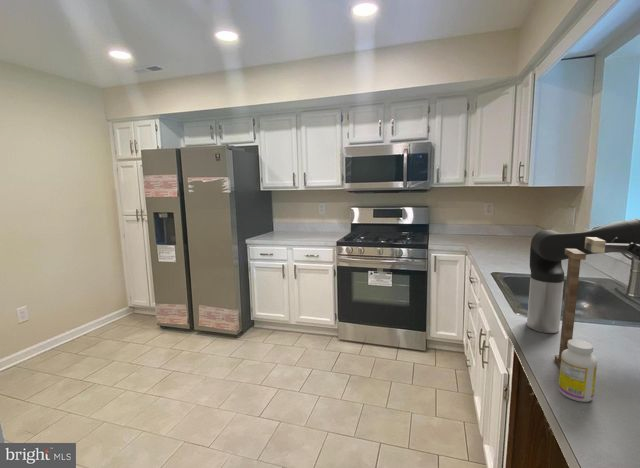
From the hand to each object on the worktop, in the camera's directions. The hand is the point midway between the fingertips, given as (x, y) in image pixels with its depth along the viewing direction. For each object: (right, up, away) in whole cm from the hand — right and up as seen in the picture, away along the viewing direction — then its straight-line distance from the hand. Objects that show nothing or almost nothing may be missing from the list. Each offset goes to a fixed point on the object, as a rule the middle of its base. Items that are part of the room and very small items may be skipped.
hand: (620, 243), depth 83 cm
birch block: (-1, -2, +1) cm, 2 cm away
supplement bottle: (-14, -36, -3) cm, 39 cm away
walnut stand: (-8, -34, +9) cm, 36 cm away
